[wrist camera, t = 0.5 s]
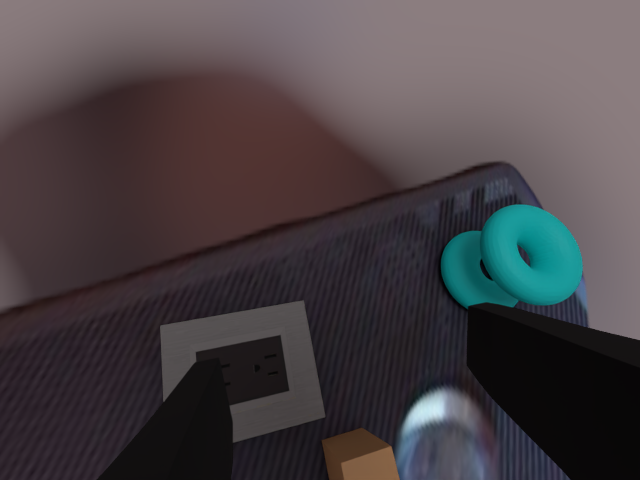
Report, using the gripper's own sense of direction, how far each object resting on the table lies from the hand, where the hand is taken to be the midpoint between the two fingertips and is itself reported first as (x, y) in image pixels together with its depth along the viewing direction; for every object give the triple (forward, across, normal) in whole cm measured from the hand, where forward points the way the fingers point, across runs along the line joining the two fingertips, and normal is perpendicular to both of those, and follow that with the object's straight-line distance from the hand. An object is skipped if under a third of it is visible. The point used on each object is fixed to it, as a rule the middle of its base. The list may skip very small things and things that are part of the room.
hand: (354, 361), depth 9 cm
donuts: (+24, -22, +10) cm, 34 cm away
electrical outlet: (+20, +6, +14) cm, 25 cm away
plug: (+14, -2, +22) cm, 26 cm away
